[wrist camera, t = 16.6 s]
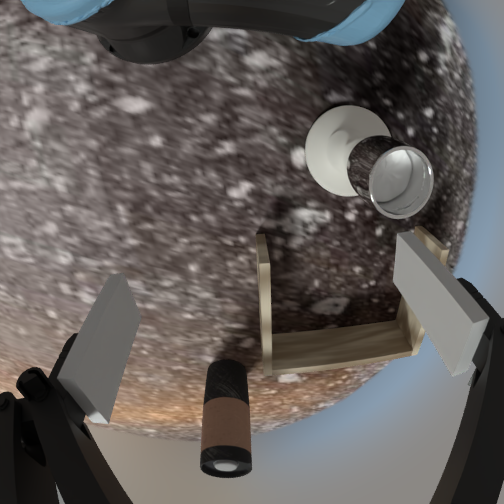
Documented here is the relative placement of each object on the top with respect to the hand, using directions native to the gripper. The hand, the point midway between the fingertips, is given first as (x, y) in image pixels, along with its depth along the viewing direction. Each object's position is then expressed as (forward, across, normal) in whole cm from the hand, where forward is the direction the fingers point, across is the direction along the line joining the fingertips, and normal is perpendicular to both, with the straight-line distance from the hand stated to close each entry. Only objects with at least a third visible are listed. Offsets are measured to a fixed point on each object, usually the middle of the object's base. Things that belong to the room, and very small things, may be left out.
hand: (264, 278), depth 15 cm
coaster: (+27, +13, -1) cm, 30 cm away
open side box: (+27, +11, -21) cm, 36 cm away
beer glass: (+27, +13, -1) cm, 30 cm away
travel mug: (+27, -9, -37) cm, 47 cm away
